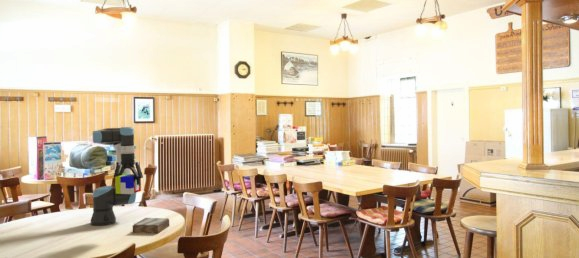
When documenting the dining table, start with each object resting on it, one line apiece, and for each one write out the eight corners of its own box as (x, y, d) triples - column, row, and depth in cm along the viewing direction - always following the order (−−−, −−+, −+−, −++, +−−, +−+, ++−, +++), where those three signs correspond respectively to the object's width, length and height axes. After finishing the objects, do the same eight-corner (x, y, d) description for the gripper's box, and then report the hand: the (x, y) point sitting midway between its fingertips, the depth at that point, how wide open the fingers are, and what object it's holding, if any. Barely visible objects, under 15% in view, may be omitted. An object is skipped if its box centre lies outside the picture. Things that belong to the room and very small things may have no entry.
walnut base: (132, 232, 241) (132, 224, 240) (145, 225, 256) (145, 217, 256) (158, 233, 239) (158, 225, 238) (169, 225, 255) (169, 218, 254)
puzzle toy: (130, 194, 234) (130, 177, 233) (115, 193, 236) (115, 176, 235) (140, 190, 243) (140, 174, 243) (126, 190, 246) (126, 174, 245)
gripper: (106, 153, 237) (107, 190, 238) (142, 153, 233) (143, 191, 234) (113, 152, 244) (114, 188, 245) (148, 152, 241) (149, 189, 241)
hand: (128, 189), depth 240 cm, fingers closed on puzzle toy, 10 cm apart
